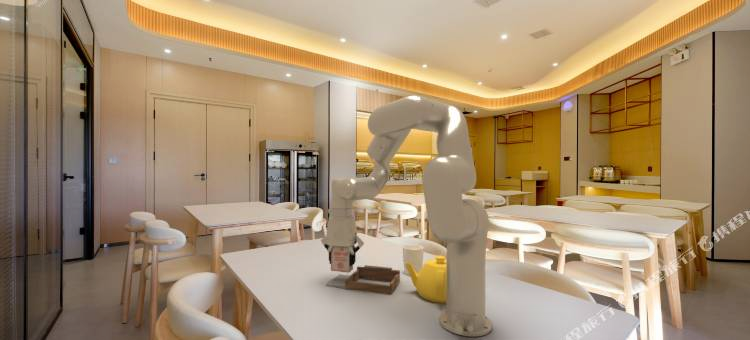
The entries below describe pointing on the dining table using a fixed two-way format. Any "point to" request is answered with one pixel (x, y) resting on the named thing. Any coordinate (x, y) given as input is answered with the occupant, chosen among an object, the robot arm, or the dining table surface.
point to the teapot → (430, 279)
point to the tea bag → (340, 259)
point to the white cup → (413, 257)
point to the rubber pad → (338, 281)
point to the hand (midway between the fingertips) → (342, 263)
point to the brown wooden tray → (373, 274)
